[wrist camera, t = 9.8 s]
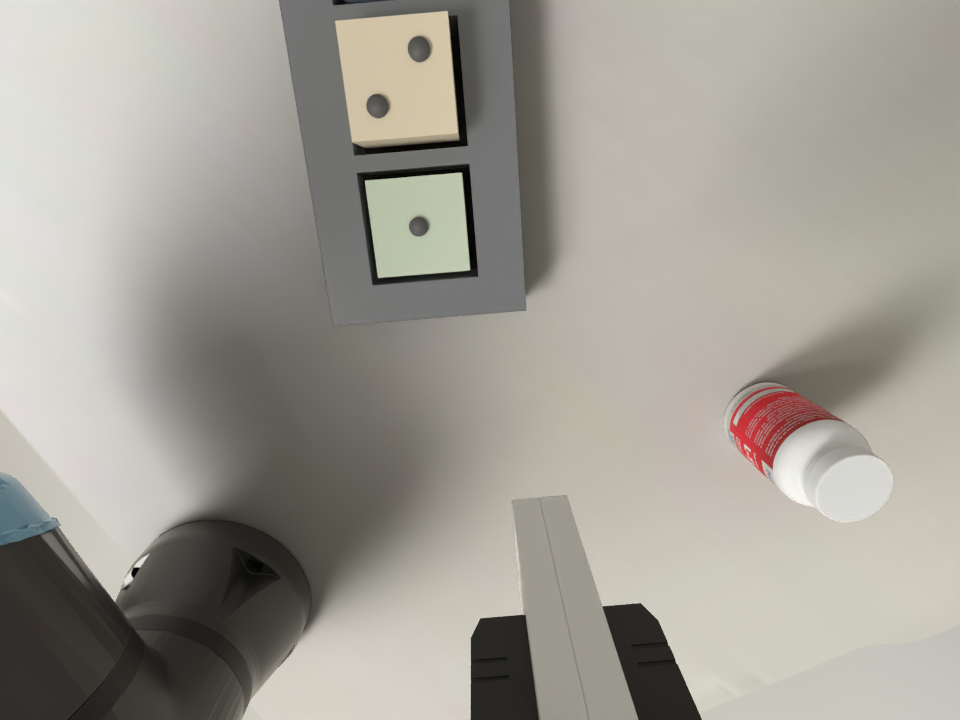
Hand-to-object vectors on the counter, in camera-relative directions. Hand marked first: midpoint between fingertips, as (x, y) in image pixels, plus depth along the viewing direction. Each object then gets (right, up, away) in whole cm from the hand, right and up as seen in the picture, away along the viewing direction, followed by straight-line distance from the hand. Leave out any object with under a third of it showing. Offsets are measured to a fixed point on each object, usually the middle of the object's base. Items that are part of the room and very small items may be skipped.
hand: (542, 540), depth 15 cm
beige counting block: (-6, +22, +18) cm, 29 cm away
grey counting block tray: (-6, +22, +21) cm, 31 cm away
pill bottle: (+21, +1, +28) cm, 35 cm away
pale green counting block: (-6, +15, +23) cm, 27 cm away
